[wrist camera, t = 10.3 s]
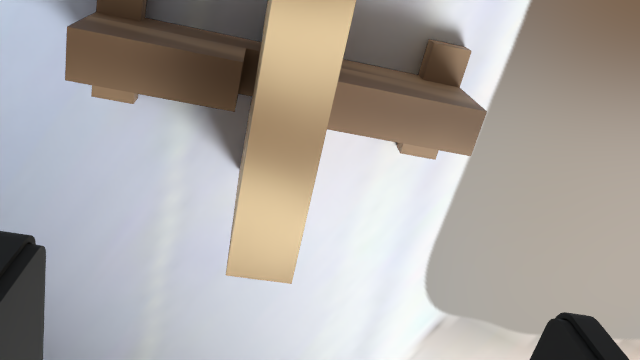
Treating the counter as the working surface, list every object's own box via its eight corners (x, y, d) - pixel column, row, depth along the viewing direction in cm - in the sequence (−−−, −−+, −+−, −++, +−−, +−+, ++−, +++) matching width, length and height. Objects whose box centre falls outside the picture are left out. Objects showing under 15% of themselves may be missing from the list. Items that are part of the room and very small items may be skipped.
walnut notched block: (430, 152, 31) (457, 192, 26) (97, 90, 28) (63, 123, 23) (465, 47, 28) (501, 70, 24) (104, -33, 26) (68, -24, 21)
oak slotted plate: (285, 177, 31) (291, 283, 22) (239, 170, 30) (225, 275, 21) (332, -49, 26) (364, -34, 17) (278, -62, 26) (280, -53, 17)
